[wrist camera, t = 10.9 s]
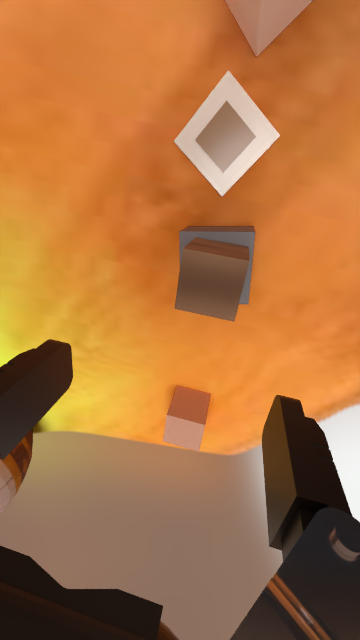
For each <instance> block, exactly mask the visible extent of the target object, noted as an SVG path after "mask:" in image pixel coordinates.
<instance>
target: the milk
mask: <svg viewBox="0 0 360 640" xmlns="http://www.w3.org/2000/svg"><path fill="white" fill-rule="evenodd" d="M312 1H313V0H225V2H226V3H227V5H228V7H229V9H230V11H231V12H232V14H233V16H234V18H235V20H236V21H237V23H238V25H239V27H240V29H241V30H242V32H243V34H244V36H245V38H246V40H247V41H248V43H249V45H250V47H251V49H252V50H253V52H254V54H255V56H256V57H257V56H258V55H259V54H260V53H261V52H262V51H263V50H264V49H265V48H266V47H267V46H268V45H269V44H270V43H271V42H272V41H273V40H274V39H275V38H276V37H277V36H278V35H279V34H280V33H281V32H282V31H283V30H284V29H285V28H286V27H287V26H288V25H289V24H290V23H291V22H292V21H293V20H294V19H295V18H296V17H297V16H298V15H299V14H300V13H301V12H302V11H303V10H304V9H305V8H306V7H307V6H308V5H309V4H310V3H311V2H312Z"/></svg>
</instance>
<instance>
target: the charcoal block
mask: <svg viewBox="0 0 360 640" xmlns="http://www.w3.org/2000/svg"><path fill="white" fill-rule="evenodd" d="M179 234H180V267H181V260H182V252H183V248H184V247H185V246H187V245H188V244H189V243H190V242H191V241H192V240H193V239H194V238H196V237H197V238H203V239H208V240H214V241H220V242H225V243H231V244H237V245H242V246H248V247H249V258H250V262H249V266H248V270H247V274H246V277H245V281H244V285H243V289H242V293H241V297H240V301H239V304H248V302H249V292H250V281H251V271H252V260H253V250H254V240H255V229H254V226H188V227H187V228H185V229H183V230H181V231H179Z"/></svg>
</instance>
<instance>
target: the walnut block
mask: <svg viewBox="0 0 360 640" xmlns="http://www.w3.org/2000/svg"><path fill="white" fill-rule="evenodd" d="M249 262H250V258H249V247H248V246H242V245H237V244H231V243H225V242H220V241H214V240H208V239H203V238H197V237H196V238H194V239H193V240H192V241H191V242H190V243H189V244H188V245H187V246H185V247H184V248H183V252H182V260H181V267H180V274H179V281H178V288H177V295H176V303H175V309H179V310H183V311H188V312H192V313H197V314H202V315H206V316H211V317H216V318H220V319H225V320H229V321H234V320H235V316H236V313H237V309H238V305H239V301H240V297H241V293H242V289H243V285H244V281H245V277H246V274H247V270H248V266H249Z"/></svg>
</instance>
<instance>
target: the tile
mask: <svg viewBox="0 0 360 640" xmlns="http://www.w3.org/2000/svg"><path fill="white" fill-rule="evenodd" d="M279 137H280V135H279V133H278V132H277V131H276V130H275V128H274V127H273V126H272V125H271V123H270V122H269V121H268V120H267V118H266V117H265V116H264V115H263V113H262V112H261V111H260V109H259V108H258V107H257V106H256V104H255V103H254V102H253V101H252V99H251V98H250V97H249V96H248V94H247V93H246V92H245V91H244V89H243V88H242V87H241V86H240V84H239V83H238V82H237V80H236V79H235V78H234V77H233V75H232V74H231V73H230V72H229V70H228V71H227V73H226V74H225V75H224V77H223V78H222V79H221V80H220V82H219V83H218V84H217V86H216V87H215V88H214V90H213V91H212V92H211V94H210V95H209V96H208V97H207V99H206V100H205V101H204V103H203V104H202V105H201V107H200V108H199V109H198V110H197V112H196V113H195V114H194V116H193V117H192V118H191V120H190V121H189V122H188V124H187V125H186V126H185V127H184V129H183V130H182V131H181V133H180V134H179V135H178V137H177V138H176V139H175V141H174V142H175V143H176V145H177V146H178V147H179V148H180V149H181V150H182V151H183V153H184V154H185V155H186V156H187V157H188V158H189V159H190V161H191V162H192V163H193V164H194V165H195V166H196V167H197V169H198V170H199V171H200V172H201V173H202V174H203V175H204V177H205V178H206V179H207V180H208V181H209V182H210V183H211V185H212V186H213V187H214V188H215V189H216V190H217V191H218V193H219V194H220V195H221V196H222V197H223V196H224V194H225V193H226V192H227V191H228V190H229V189H230V188H231V187H232V186H233V185H234V184H235V183H236V182H237V181H238V180H239V179H240V178H241V177H242V176H243V175H244V174H245V172H246V171H247V170H248V169H249V168H250V167H251V166H252V165H253V164H254V163H255V162H256V161H257V160H258V159H259V158H260V157H261V156H262V155H263V154H264V153H265V152H266V151H267V149H268V148H269V147H270V146H271V145H272V144H273V143H274V142H275V141H276V140H277V139H278V138H279Z"/></svg>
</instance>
